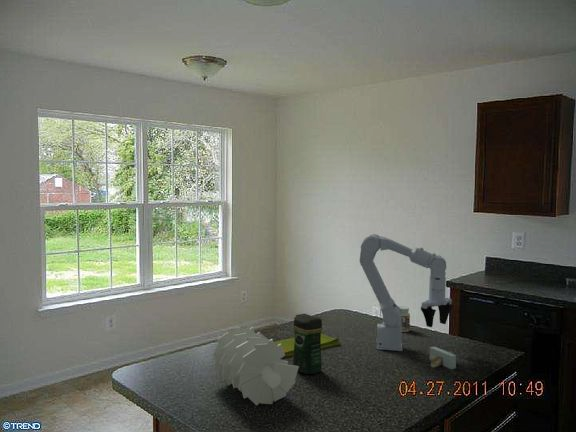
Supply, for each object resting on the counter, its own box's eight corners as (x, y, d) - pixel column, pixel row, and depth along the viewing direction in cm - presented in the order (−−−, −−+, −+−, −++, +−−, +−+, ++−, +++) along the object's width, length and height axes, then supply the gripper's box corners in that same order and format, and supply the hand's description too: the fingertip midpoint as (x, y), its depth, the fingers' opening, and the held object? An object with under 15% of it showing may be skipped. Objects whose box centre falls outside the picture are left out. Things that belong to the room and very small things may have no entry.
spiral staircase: (259, 426, 131) (221, 388, 152) (308, 387, 138) (266, 356, 160) (234, 373, 125) (198, 341, 146) (287, 335, 133) (246, 310, 154)
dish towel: (240, 351, 180) (240, 342, 180) (316, 335, 200) (316, 328, 200) (261, 364, 167) (261, 355, 167) (340, 346, 187) (340, 338, 187)
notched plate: (429, 359, 172) (429, 347, 172) (434, 358, 173) (434, 346, 173) (451, 369, 163) (451, 356, 163) (455, 368, 164) (456, 355, 164)
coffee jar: (325, 371, 159) (326, 316, 158) (307, 377, 155) (308, 320, 154) (306, 363, 167) (307, 310, 166) (288, 368, 162) (289, 313, 161)
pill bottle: (409, 332, 204) (410, 309, 203) (395, 331, 205) (396, 308, 204) (409, 328, 209) (409, 306, 209) (395, 328, 211) (396, 305, 210)
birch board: (433, 367, 164) (433, 357, 164) (430, 366, 165) (431, 356, 165) (452, 361, 170) (452, 352, 170) (449, 360, 171) (449, 351, 171)
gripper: (432, 293, 171) (431, 330, 172) (458, 288, 179) (457, 324, 180) (417, 289, 177) (416, 325, 177) (443, 285, 185) (442, 320, 186)
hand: (436, 325), depth 179 cm, fingers open, 7 cm apart
